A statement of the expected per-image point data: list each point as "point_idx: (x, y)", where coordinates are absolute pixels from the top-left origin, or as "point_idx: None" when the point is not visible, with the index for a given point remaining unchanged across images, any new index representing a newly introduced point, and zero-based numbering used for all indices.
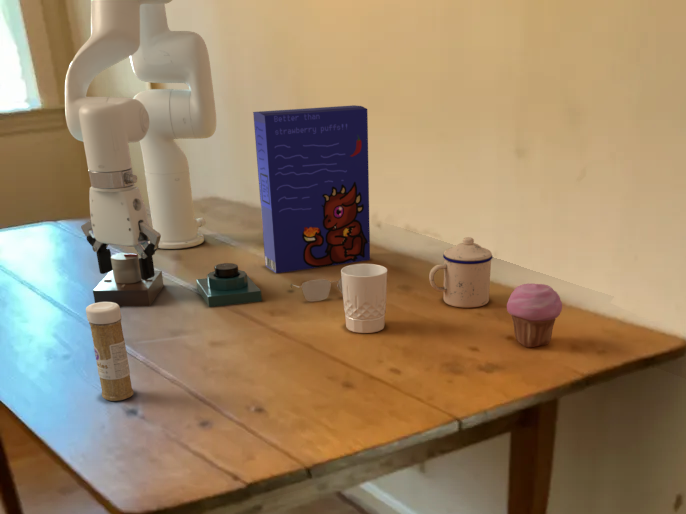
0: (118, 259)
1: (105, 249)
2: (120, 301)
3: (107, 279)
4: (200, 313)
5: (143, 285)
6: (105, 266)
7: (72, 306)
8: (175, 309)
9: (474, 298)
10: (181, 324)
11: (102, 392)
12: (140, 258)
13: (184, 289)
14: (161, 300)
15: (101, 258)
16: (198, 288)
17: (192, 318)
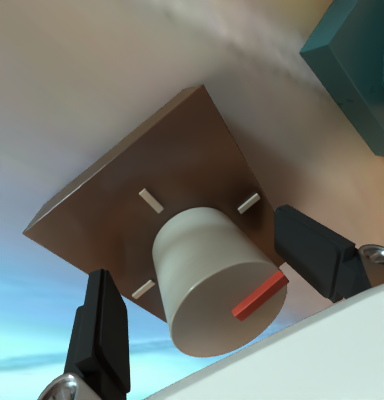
0: (247, 342)
1: (105, 382)
2: None
3: (142, 289)
4: (369, 189)
5: (266, 240)
6: (121, 316)
7: (138, 334)
8: (322, 206)
9: None
10: (360, 241)
11: None
12: (338, 298)
13: (264, 77)
14: (267, 190)
15: (129, 365)
16: (321, 70)
17: (366, 214)
